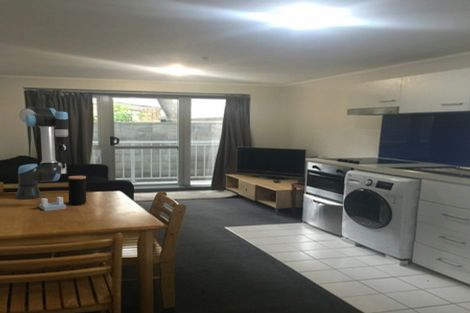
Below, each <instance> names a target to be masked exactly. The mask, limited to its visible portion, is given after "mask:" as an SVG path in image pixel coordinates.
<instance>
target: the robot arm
mask: <svg viewBox="0 0 470 313" xmlns="http://www.w3.org/2000/svg"><path fill="white" fill-rule="evenodd" d="M68 114H69V113H68V112H67V111H57V110H56V109H55V108H51V107H37V106H30V107H29V106H28V107H26V108H25V107H24V109H22V110H21V111H20V112H19V119H20V121H21V122H24V123H25V125H26V126H27V127H30V128H32V127H33V128H34V127H38V128H39V129H40V143H41V145H40V146H41V162H40V163H39V165H38V164H37V163H29V164H22V165H20V166H18V172H17V174H18V189H17V192H16V194H15V199H17V200H33V199H39V198H41V195H42V194H41V192H40V188H39V186H38V185H39V183H42V182H43V183H44V182H45V183H46V182H57V181H58V180H60V177H61V175H64V174H63V173H66V166H67V162H68V146H66V143H69V115H68ZM55 143H58V144H57V146H56V147H55ZM56 166H61V174H57V169H56Z"/></svg>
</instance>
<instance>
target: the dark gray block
mask: <svg viewBox="0 0 470 313" xmlns="http://www.w3.org/2000/svg"><path fill="white" fill-rule="evenodd" d="M56 169H57V174H60V175H67V174H68V170H67V169H68V167H67V165H66V173H63V174H61V166H56Z"/></svg>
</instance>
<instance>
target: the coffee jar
mask: <svg viewBox="0 0 470 313" xmlns="http://www.w3.org/2000/svg"><path fill="white" fill-rule="evenodd" d="M86 178H87V175H71V176H68V204H69V205H70V206H83V205H86V203H87V179H86Z"/></svg>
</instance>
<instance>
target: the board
mask: <svg viewBox="0 0 470 313" xmlns="http://www.w3.org/2000/svg"><path fill="white" fill-rule="evenodd" d="M40 199H41V203H39V204H38V208H40V209H41V210H43V211H45V212H46V211H57V210H58V211H59V210H64V209H67V205H66V204H65V203H64V197H63V196H56V201H54V202H49V199H48V198H47V197H45V198H44V197H43V198H41V197H40Z"/></svg>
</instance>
